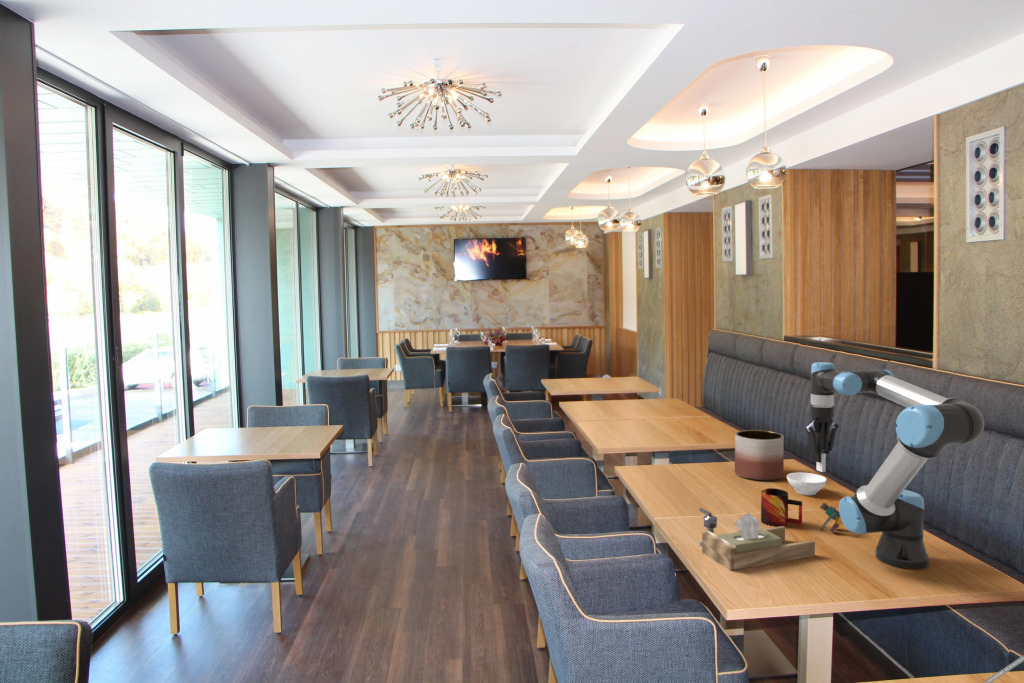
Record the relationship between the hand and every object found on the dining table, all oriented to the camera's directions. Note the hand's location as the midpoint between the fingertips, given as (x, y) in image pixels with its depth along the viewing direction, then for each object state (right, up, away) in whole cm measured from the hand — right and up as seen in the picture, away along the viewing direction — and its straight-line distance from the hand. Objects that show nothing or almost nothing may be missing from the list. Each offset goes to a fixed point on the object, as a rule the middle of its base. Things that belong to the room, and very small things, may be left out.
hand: (820, 470), depth 233 cm
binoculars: (+8, -24, +7) cm, 26 cm away
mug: (-8, -24, +17) cm, 30 cm away
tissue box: (-31, -27, -16) cm, 44 cm away
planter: (+8, -19, +81) cm, 83 cm away
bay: (-27, -26, -12) cm, 39 cm away
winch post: (-42, -26, -4) cm, 49 cm away
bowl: (+19, -21, +53) cm, 60 cm away
